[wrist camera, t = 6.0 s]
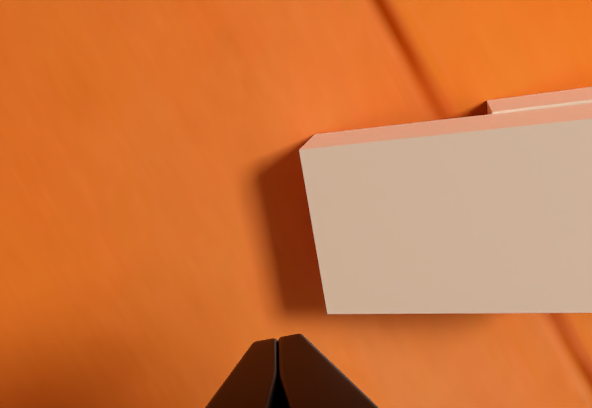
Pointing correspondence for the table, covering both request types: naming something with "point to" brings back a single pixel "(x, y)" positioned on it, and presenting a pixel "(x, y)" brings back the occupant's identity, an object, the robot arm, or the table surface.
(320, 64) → the table surface
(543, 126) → the domino
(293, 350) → the robot arm
